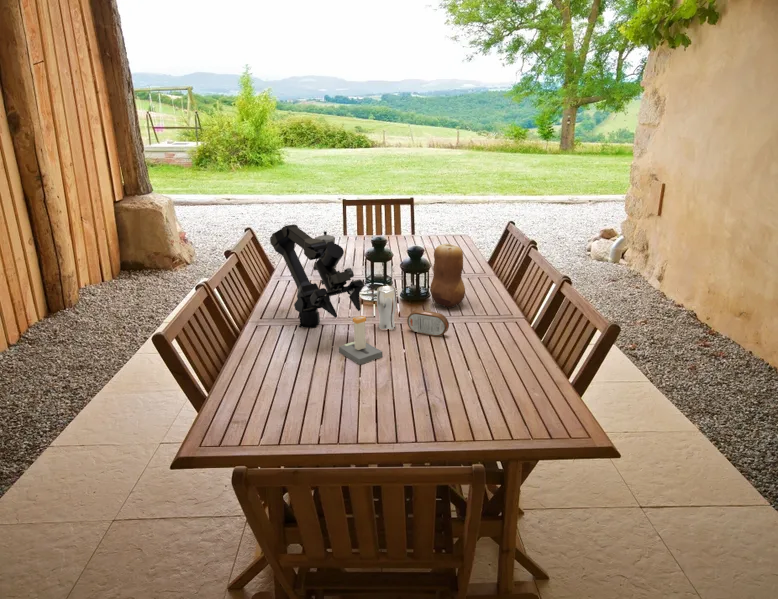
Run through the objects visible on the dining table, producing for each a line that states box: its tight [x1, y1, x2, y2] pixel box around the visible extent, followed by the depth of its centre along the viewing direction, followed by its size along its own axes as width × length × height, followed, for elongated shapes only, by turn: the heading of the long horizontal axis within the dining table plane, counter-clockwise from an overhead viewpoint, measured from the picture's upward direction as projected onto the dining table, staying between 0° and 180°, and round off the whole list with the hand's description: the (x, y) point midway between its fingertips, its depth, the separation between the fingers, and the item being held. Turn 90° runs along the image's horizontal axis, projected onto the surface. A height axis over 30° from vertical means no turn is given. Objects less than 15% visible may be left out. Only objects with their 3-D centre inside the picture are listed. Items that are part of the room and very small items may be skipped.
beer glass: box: [376, 285, 397, 329], centre depth 209 cm, size 7×7×15 cm
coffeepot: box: [315, 231, 337, 269], centre depth 279 cm, size 15×9×18 cm, turn 178°
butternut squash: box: [429, 243, 466, 309], centre depth 228 cm, size 14×13×25 cm
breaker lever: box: [352, 315, 367, 350], centre depth 188 cm, size 2×4×11 cm, turn 128°
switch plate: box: [338, 340, 383, 365], centre depth 190 cm, size 12×9×2 cm
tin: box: [406, 309, 450, 337], centre depth 204 cm, size 15×3×8 cm, turn 65°
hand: (348, 313), depth 191 cm, fingers open, 9 cm apart
